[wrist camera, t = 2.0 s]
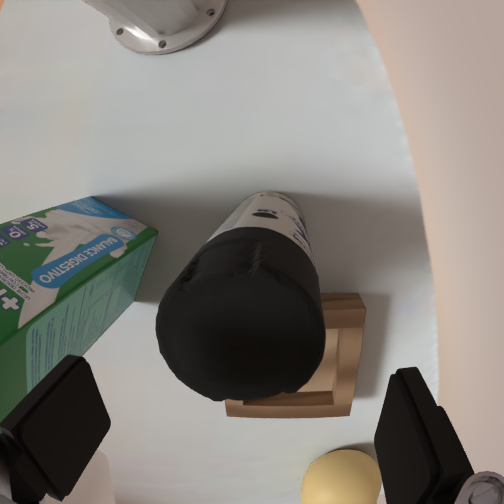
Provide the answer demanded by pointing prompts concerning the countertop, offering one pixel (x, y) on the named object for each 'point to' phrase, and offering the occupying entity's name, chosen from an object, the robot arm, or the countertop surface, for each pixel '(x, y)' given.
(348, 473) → the sculpture
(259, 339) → the spray can
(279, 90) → the countertop surface
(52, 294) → the milk carton
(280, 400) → the socket block
